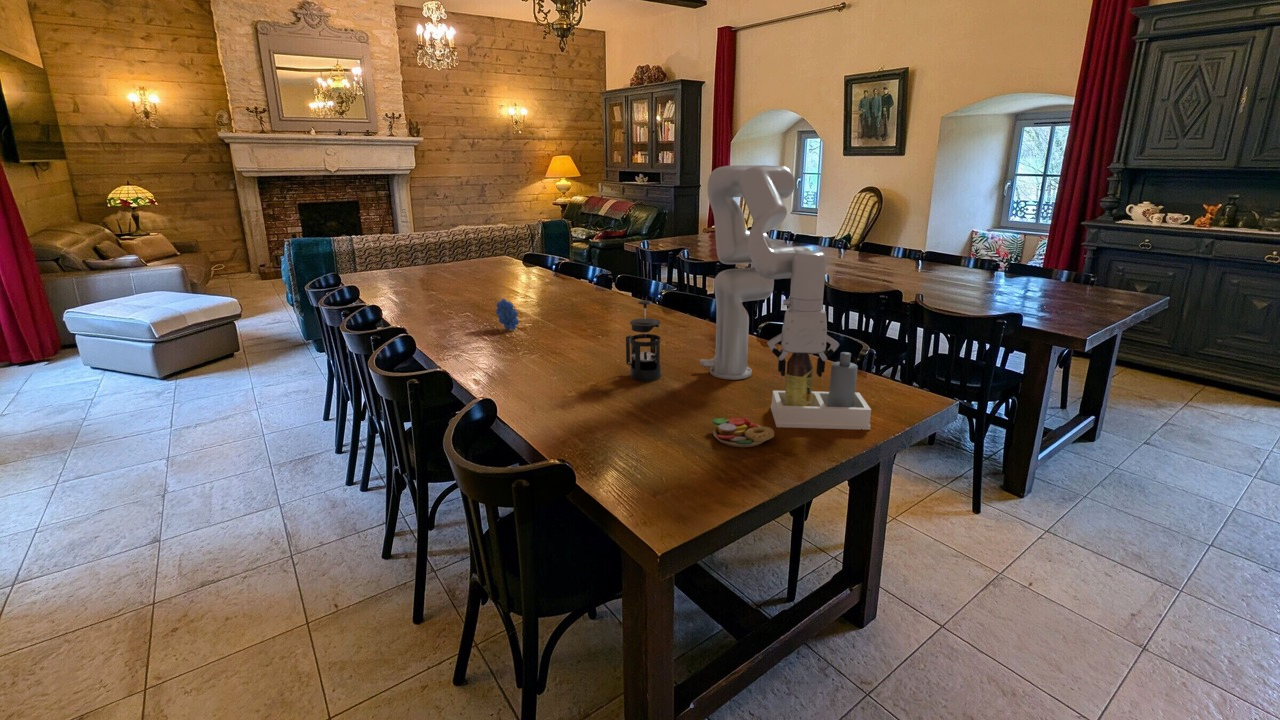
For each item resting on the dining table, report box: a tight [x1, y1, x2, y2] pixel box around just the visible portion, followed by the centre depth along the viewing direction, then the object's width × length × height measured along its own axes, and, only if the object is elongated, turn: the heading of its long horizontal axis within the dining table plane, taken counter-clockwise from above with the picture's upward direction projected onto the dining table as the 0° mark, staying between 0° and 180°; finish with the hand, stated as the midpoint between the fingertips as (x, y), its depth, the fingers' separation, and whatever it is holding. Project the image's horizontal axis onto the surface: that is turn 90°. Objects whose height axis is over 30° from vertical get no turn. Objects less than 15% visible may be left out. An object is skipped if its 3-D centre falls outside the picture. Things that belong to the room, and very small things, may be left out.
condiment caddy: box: [770, 351, 872, 431], centre depth 148 cm, size 22×12×17 cm, turn 85°
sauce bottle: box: [785, 353, 814, 406], centre depth 148 cm, size 7×6×20 cm
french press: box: [625, 300, 662, 382], centre depth 179 cm, size 12×9×23 cm
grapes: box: [495, 298, 520, 331], centre depth 233 cm, size 12×7×12 cm, turn 53°
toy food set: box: [712, 417, 775, 448], centre depth 141 cm, size 13×13×3 cm
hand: (800, 374), depth 148 cm, fingers open, 8 cm apart
